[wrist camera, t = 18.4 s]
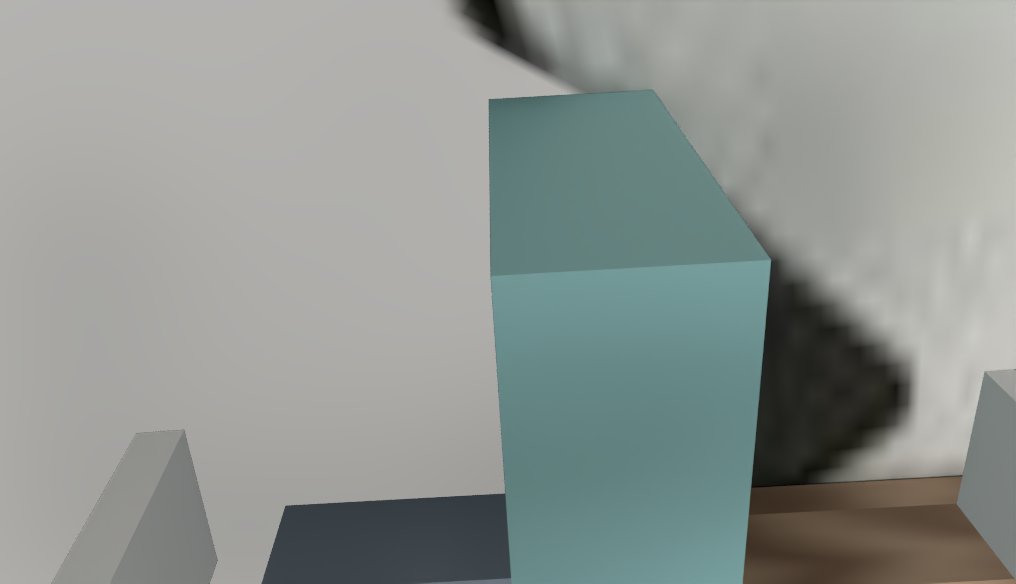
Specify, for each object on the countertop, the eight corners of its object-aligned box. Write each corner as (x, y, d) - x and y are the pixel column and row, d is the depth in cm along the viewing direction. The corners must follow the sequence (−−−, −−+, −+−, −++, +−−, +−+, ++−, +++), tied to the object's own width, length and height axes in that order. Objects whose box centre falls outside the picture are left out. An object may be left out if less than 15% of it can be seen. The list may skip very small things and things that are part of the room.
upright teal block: (504, 347, 25) (514, 630, 16) (488, 99, 22) (490, 276, 13) (648, 340, 25) (739, 618, 16) (653, 89, 22) (771, 259, 13)
